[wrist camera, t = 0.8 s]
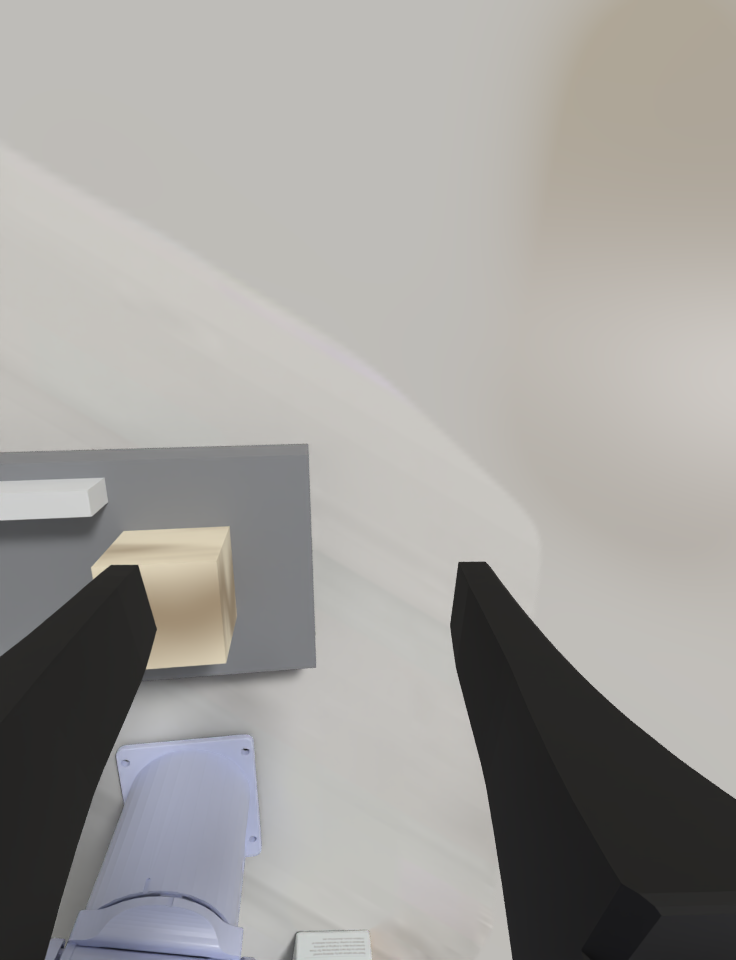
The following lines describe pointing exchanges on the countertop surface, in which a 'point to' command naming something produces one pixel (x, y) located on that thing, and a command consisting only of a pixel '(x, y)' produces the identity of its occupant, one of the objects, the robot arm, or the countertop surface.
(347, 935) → the small box
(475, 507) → the countertop surface
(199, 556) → the block
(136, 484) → the grey long flat tray
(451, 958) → the countertop surface
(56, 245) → the countertop surface
